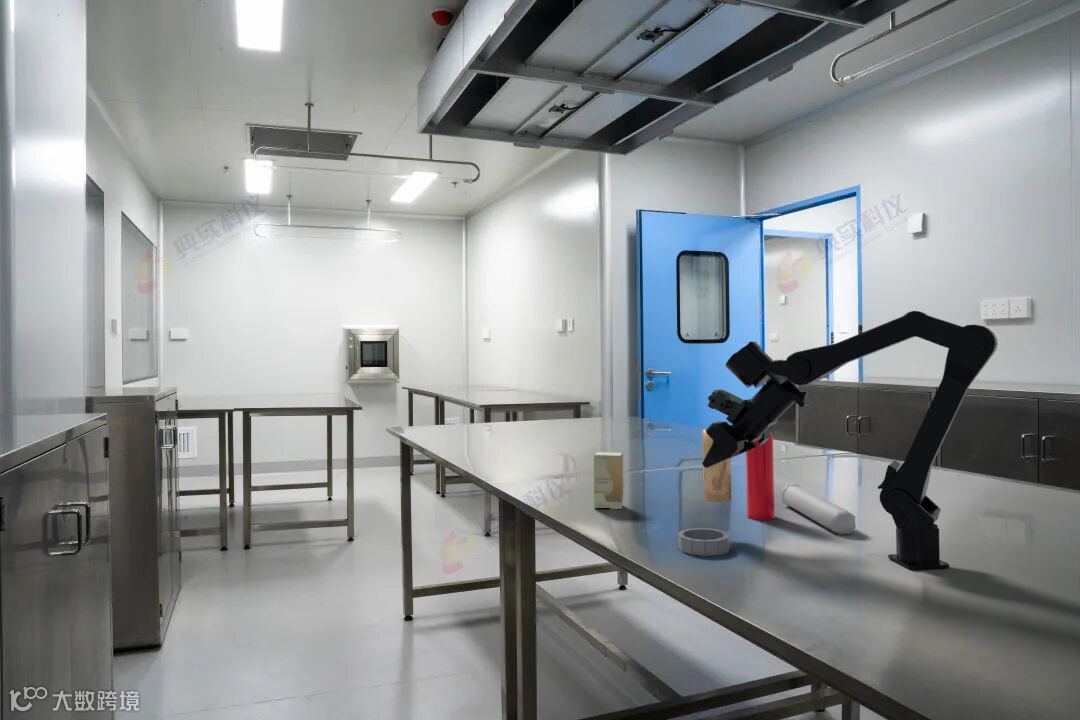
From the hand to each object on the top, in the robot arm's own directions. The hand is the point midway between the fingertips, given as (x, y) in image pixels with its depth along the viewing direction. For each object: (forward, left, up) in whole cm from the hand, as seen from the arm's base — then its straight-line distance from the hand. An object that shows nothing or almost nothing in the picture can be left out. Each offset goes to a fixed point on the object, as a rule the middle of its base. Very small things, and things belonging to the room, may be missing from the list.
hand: (709, 463), depth 132 cm
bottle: (+12, -14, -14) cm, 23 cm away
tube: (+7, -24, -14) cm, 29 cm away
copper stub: (-1, -1, -7) cm, 7 cm away
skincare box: (+27, +15, -14) cm, 33 cm away
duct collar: (-8, +4, -13) cm, 16 cm away
